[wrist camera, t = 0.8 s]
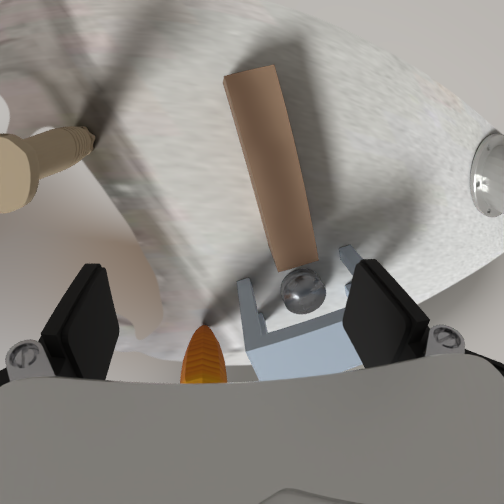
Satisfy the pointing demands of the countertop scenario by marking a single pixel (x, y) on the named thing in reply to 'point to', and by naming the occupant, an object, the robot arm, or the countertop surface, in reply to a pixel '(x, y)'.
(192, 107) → the countertop surface
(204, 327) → the carrot
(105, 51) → the countertop surface
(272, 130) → the brown block
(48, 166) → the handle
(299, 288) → the grey metal short cylinder
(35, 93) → the countertop surface
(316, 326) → the low shelf
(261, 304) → the countertop surface
